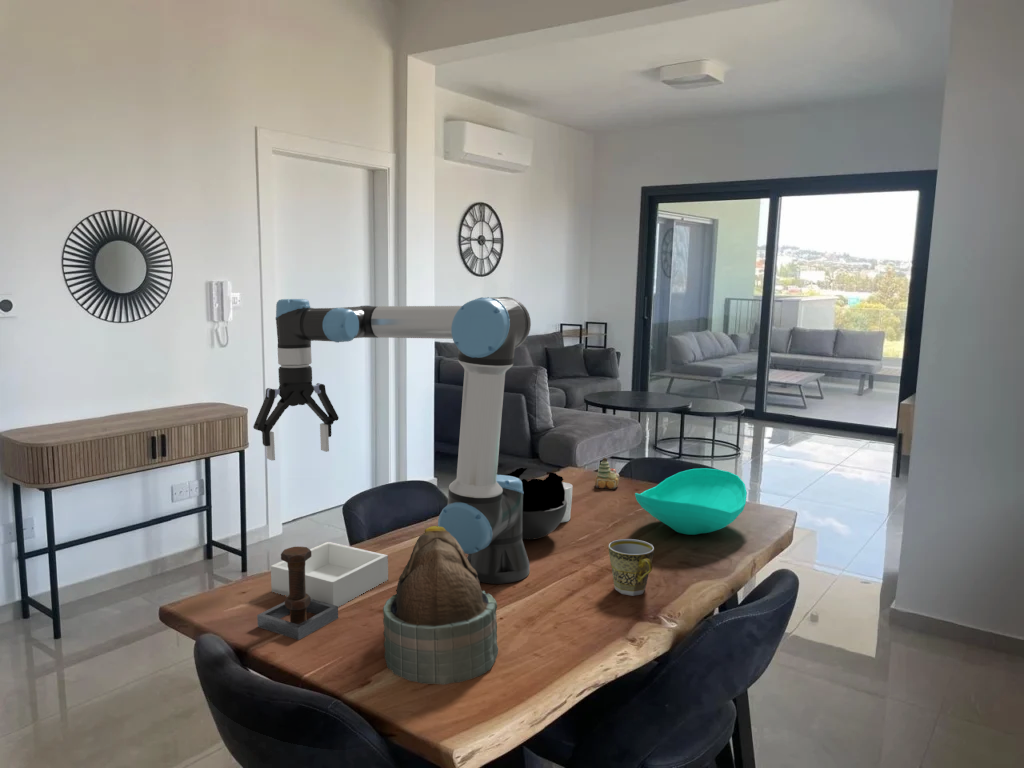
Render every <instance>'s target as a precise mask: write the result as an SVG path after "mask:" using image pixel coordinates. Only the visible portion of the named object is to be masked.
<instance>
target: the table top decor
mask: <svg viewBox="0 0 1024 768" xmlns="http://www.w3.org/2000/svg"><path fill="white" fill-rule="evenodd" d="M747 492H748V491H747V488H746V484H745V482H744V481H743V480H742V479H741V478H740V476H739V475H737V474H735V473H732V472H730V471H727V470H722V469H719V468H718V469H717V468H707V467H705V468H703V467H700V468H692V469H686V470H683V471H679V472H677V473H675V474H673V475H671V476H669V477H666V478H664V480H662V481H661V482H659V483H658V484H657V485H656V486H654V487H651V488H649V489H646V490H644V491H643V492H641V493H638V492H635V493H634V496H635V499H636V500H635V501H636V502H637V503H638V505H640V507H641V508H642V509H643V510H645V512H647V513H649V514H650V515H651V516H652V517H653V518H655V519H657V520H658V521H660V522H662V523H663V524H664V525H666V526H667V527H669V528H670V529H672V530H674V531H675V532H676V533H678V534H683V535H688V536H689V535H690V536H691V535H692V536H695V535H696V536H697V535H700V534H707V533H708V534H710V533H712V532H716V531H719V530H721V529H724V528H726V527H728V526H729V525H731V524H732V523H733V522H734V521H735V520H736V519H737V518H738V517H739V516H740V514H741V513H742V512H743V511H744V509H745V507H746V503H747V494H748V493H747Z"/></svg>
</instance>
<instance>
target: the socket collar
mask: <svg viewBox="0 0 1024 768" xmlns="http://www.w3.org/2000/svg"><path fill="white" fill-rule="evenodd" d="M306 613H311V614H313V616H311V617H310V618H307V619H306V621H304V622H302V623H300V624H295V623H292V622H290V620H289V621H288V620H285V619H282V618H285V617H286V616H288V615H290V609H288V608H287V607H286V606H285V601H283V602H281V603H279V604H277V605H275V606H273V607H271V608H269V609H267V610H265V611H263V612H261V613H258V614H257V615H256V618H257V628H260V629H264V630H266V631H270V632H272V633H276V634H278V635H282V636H283V637H287V638H291V639H294V640H297V641H300V640H301V639H303V638H305V637H307V636H309V635H311V634H312V633H314V632H315V631H316V632H317V631H318V630H319V629H321V628H323V627H325V626H326V625H328V624H330V623H332V622H333V621H336V620H337V619H339V607H338V606H335V605H331V604H328V603H324V602H321V601H317V600H314V599H311V603H310V604H309V606H308V607H307V608H306Z"/></svg>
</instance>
